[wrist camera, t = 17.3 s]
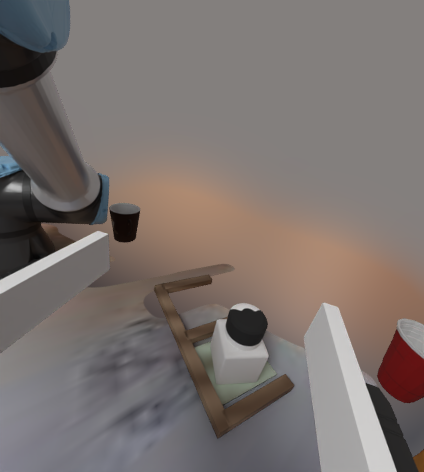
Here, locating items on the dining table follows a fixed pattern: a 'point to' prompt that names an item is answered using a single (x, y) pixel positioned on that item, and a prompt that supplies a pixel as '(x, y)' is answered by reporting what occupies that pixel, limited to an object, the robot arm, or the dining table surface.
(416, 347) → the plastic cup
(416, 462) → the coffee package
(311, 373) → the robot arm
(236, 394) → the wooden tray frame
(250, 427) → the dining table surface
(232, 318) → the medicine bottle
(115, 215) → the coffee mug
